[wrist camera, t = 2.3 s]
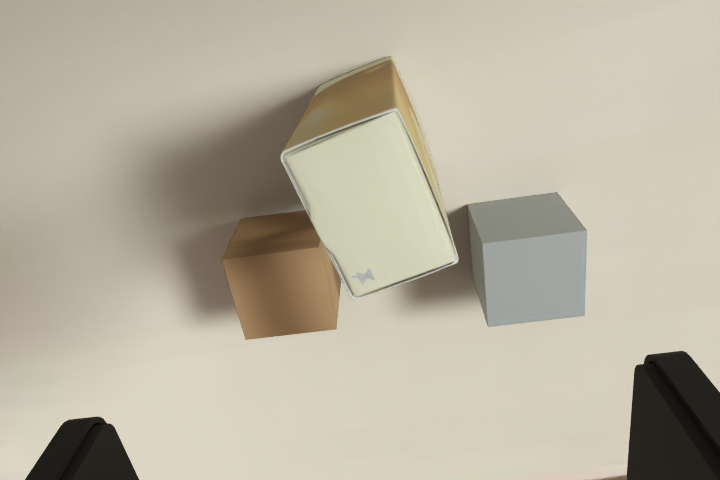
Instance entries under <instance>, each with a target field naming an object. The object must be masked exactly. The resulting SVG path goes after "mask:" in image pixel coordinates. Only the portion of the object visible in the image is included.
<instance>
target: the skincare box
mask: <svg viewBox="0 0 720 480" xmlns="http://www.w3.org/2000/svg"><path fill="white" fill-rule="evenodd" d="M280 160H281V162H282V164H283V166H284V168H285V170H286V172H287V174H288V176H289V178H290V180H291V182H292V184H293V186H294V188H295V190H296V192H297V194H298V196H299V198H300V200H301V202H302V204H303V206H304V208H305V209H306V211H307V214H308V216H309V218H310V220H311V222H312V224H313V226H314V228H315V230H316V232H317V234H318V236H319V237H320V239H321V241H322V243H323V245H324V247H325V248H326V250H327V252H328V254H329V256H330V258H331V260H332V262H333V264H334V266H335V268H336V270H337V272H338V274H339V276H340V278H341V280H342V281H343V283H344V285H345V287H346V289H347V291H348V293H349V295H350V297H351V298H352V299H354V300H356V299H359V298H362V297H365V296H368V295H371V294H374V293H377V292H380V291H383V290H386V289H389V288H392V287H395V286H398V285H400V284H403V283H406V282H409V281H412V280H415V279H418V278H421V277H423V276H426V275H429V274H431V273H434V272H437V271H439V270H441V269H443V268H446V267H449V266H451V265H454V264H456V263H458V254H457V251H456V248H455V244H454V241H453V237H452V234H451V230H450V226H449V223H448V219H447V215H446V211H445V207H444V203H443V200H442V196H441V192H440V188H439V184H438V180H437V177H436V173H435V168H434V164H433V160H432V157H431V154H430V151H429V148H428V145H427V142H426V139H425V136H424V134H423V131H422V128H421V125H420V123H419V120H418V117H417V115H416V112H415V109H414V107H413V104H412V102H411V99H410V97H409V95H408V92H407V90H406V87H405V85H404V83H403V80H402V78H401V76H400V73H399V71H398V69H397V66H396V64H395V62H394V59H393V57H392V56H388V57H386V58H383V59H381V60H378V61H375V62H373V63H370V64H368V65H366V66H363V67H361V68H358V69H356V70H354V71H351V72H349V73H346V74H344V75H342V76H340V77H337V78H335V79H333V80H331V81H328V82H326V83H324V84H322V85H320V86H319V87H318V89H317V91H316V93H315V94H314V96H313V98H312V99H311V101H310V103H309V105H308V107H307V109H306V110H305V112H304V114H303V115H302V117H301V119H300V121H299V122H298V124H297V126H296V128H295V130H294V131H293V133H292V135H291V137H290V138H289V140H288V141H287V143H286V145H285V147H284V148H283V150H282V152H281V154H280Z"/></svg>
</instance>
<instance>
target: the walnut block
mask: <svg viewBox="0 0 720 480" xmlns="http://www.w3.org/2000/svg"><path fill="white" fill-rule="evenodd" d="M222 263H223V267H224V270H225V273H226V277H227V280H228V283H229V286H230V290H231V293H232V296H233V300H234V303H235V306H236V310H237V313H238V316H239V320H240V323H241V326H242V329H243V333H244V336H245V339H246V340H247V339H256V338H265V337H273V336H282V335H290V334H299V333H308V332H316V331H325V330H334V329H336V327H337V317H338V306H339V296H340V285H341V280H340V276H339V274H338V272H337V270H336V268H335V266H334V264H333V262H332V260H331V258H330V256H329V254H328V252H327V250H326V248H325V247H324V245H323V243H322V241H321V239H320V237H319V236H318V234H317V232H316V230H315V228H314V226H313V224H312V222H311V220H310V218H309V216H308V214H307V211H306V210H304V211H296V212H289V213H281V214H274V215H266V216H259V217H252V218H244V219H241V221H240V223H239V225H238V227H237V229H236V231H235V233H234V235H233V237H232V239H231V241H230V244H229V246H228V248H227V250H226V252H225V254H224V256H223V258H222Z"/></svg>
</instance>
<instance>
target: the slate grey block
mask: <svg viewBox="0 0 720 480" xmlns="http://www.w3.org/2000/svg"><path fill="white" fill-rule="evenodd" d="M467 206H468V219H469V231H470V244H471V257H472V270H473V280H474V283H475V287H476V290H477V293H478V296H479V299H480V303H481V306H482V309H483V312H484V316H485V319H486V322H487V325H488V327H491V326H500V325H509V324H518V323H526V322H535V321H544V320H552V319H561V318H570V317H578V316H585V281H586V243H587V230H586V229H585V227H584V226H583V225H582V224H581V222H580V221H579V220H578V219H577V217H576V216H575V215H574V213H573V212H572V211H571V210H570V208H569V207H568V206H567V204H566V203H565V202H564V201H563V199H562V198H561V197H560V196H559V194H558V193H557V192H555V193H548V194H540V195H533V196H525V197H518V198H510V199H503V200H496V201H488V202H481V203H473V204H467Z"/></svg>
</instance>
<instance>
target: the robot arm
mask: <svg viewBox="0 0 720 480" xmlns="http://www.w3.org/2000/svg"><path fill="white" fill-rule="evenodd" d="M25 480H139V479H138V476H137V474H136V472H135V470H134V468H133V466H132V464H131V462H130V459H129V457H128V455H127V453H126V451H125V449H124V447H123V445H122V442H121V440H120V438H119V436H118V434H117V432H116V430H115V428H114V426H113V425H111V424H107V423H106V422H105V420H104V419H103V418H101V417H90V418H81V419H72V420H68V421H66V422H64V423H63V424H62V425H61V427H60V428H59V430H58V431H57V433H56V434H55V436H54V437H53V439H52V440H51V442H50V443H49V445H48V446H47V448H46V449H45V451H44V452H43V454H42V455H41V457H40V458H39V460H38V461H37V463H36V464H35V466H34V467H33V469H32V470H31V472H30V473H29V475H28V476H27V478H26V479H25ZM627 480H720V392H719V391H718V390H717V389H716V387H715V386H714V385H713V384H712V383H711V381H710V380H709V379H708V378H707V376H706V375H705V374H704V373H703V371H702V370H701V369H700V368H699V367H698V365H697V364H696V363H695V362H694V360H693V359H692V358H691V357H690V356H689V355H688V354H687V353H686V352H684V351H678V352H669V353H660V354H651V355H647V356H646V358H645V361H644V364H641V365H637V366H636V367H635V371H634V385H633V399H632V412H631V426H630V440H629V454H628V467H627Z"/></svg>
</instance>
